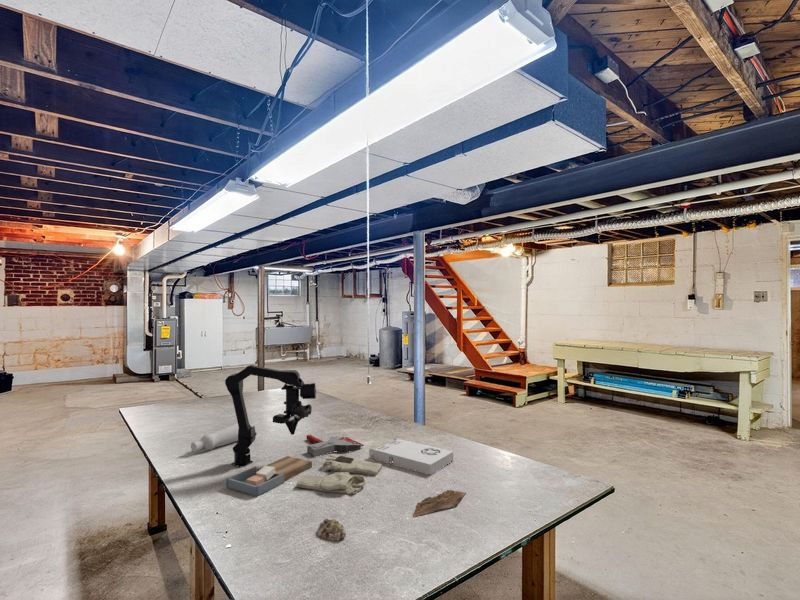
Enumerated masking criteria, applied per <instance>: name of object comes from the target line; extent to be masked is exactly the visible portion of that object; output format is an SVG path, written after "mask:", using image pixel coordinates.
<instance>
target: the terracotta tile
mask: <svg viewBox="0 0 800 600" xmlns="http://www.w3.org/2000/svg"><path fill="white" fill-rule="evenodd" d="M264 482H266V477H265V476H260V475H254V476H252V477H250V478H248V479H246V483H248V484H251V485H255V486H258V485H260V484H262V483H264Z"/></svg>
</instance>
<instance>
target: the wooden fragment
mask: <svg viewBox="0 0 800 600" xmlns="http://www.w3.org/2000/svg"><path fill="white" fill-rule="evenodd" d="M465 493H466V492H465V491H460V490H453V489H449V490H448V489H447V491H446V490H445V491H443V492H442V493H438V494H437V496H433V497H431V496H428V497H425V498H423V500H421V501H420V502H417V504H416V506H415V509H414V512H413V513H412V518H415V517H419V516H423V515H427V514H431V513H434V512H437V511H440V510H444V509H450V508H456V507H458V504H459V503H460V502H461V500H462V499H463V498H464V496H465Z"/></svg>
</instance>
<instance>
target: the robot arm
mask: <svg viewBox="0 0 800 600" xmlns="http://www.w3.org/2000/svg"><path fill="white" fill-rule="evenodd" d="M250 376H255V377H256V376H257V377H262V378H267V379H273V380H276V381H279V382H282V383H284V384H283V386H282V387H281V388H280V389H281V391H282V390H283V391H285V401H283V405H285V410H284V411H283V413H278V414H275V415H273V416H272V423H275V424H281V425H282V424H285V425H286V427H287V429H288V431H289V434H290V435H291V436H292V435H295V432H296V429H297V426H298V424H299V422H300V421H301V420H303V419H305V418H309V415H312V405H311V404H309V403H308V404H306V405H303V404H302V403H303V402H302V400H308V399H309V400H312V399H313V400H314V399H315V400H316V398H317V388H316V387H317V386H316V382H312V383H305V382H304V381H303V379H302V378H301V374H300V373H299V371H298V370H295V369H283V370H280V369H274V368H269V367H263V366H258V365H255V364H250V365H248V366H246V367H245V368H244V369H242V370H241V371H239V372H238V373H236V372H235V373H233V374H232V373H231V375H228V376H227V377H226V379H225V380H224V383H225V387H226V389H227V391H228V392H229V394H230V395H231V398H232V403H233V408H234V411H235V412H234V413H235V416H236V417H235V418H236V420H237V421H236V423H238V426H239V430H238V441H237V443H236V444H234V446H233V447H232V452H233V454H234V458H233V459H234V462H231V465H232V466H236V467H241V468H242V467H245V466H247V465H249V464H252V463H253V462H254V461H253V460H251V449H250V447H251V445H253V443H254V442H255V440H256V437H257V435H258V434H257V432H256V426H252V425H251V423H250V421H249V416H248V412H247V407H246V403H245V399H244V398H245V397H244V394H243V393H244V391H243V390H244V380H245V379H247V378H248V377H250ZM300 398H302V400H300Z"/></svg>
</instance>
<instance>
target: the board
mask: <svg viewBox="0 0 800 600" xmlns="http://www.w3.org/2000/svg"><path fill="white" fill-rule="evenodd" d="M265 466H270V467H275V471H276V473H275V474H274V475H273V476H272V477H271V478H274V477H276V476H278V475H281V474H284V482H286V481H288V480H290V479H292V478H293V477H296V476H298V475H299V474H301V473H303V472H306V471H307V470H309V469H311V468H313V462H312V460H308V459H307V460H306V459H304V458H299V457H295V456H290V455H286V456H283V457H282V458H280V459H278V460H275V461H273V462H270V463H268V464H266V465H265ZM263 467H264V466H262V467H259V468H257V472H258V471H259V470H260V469H261V468H263Z"/></svg>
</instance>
